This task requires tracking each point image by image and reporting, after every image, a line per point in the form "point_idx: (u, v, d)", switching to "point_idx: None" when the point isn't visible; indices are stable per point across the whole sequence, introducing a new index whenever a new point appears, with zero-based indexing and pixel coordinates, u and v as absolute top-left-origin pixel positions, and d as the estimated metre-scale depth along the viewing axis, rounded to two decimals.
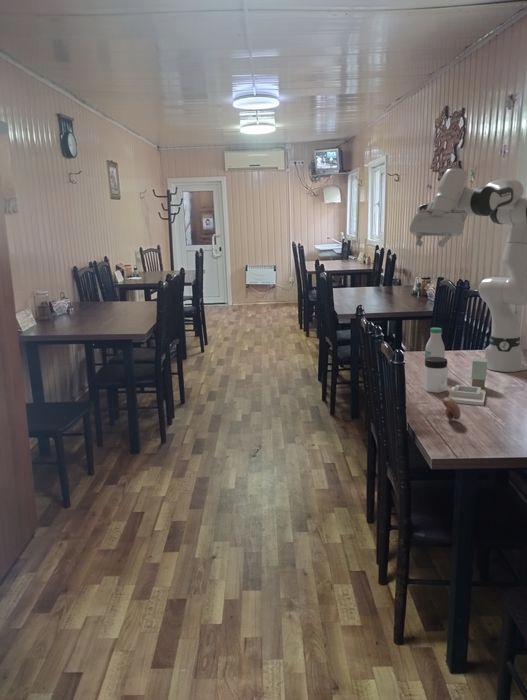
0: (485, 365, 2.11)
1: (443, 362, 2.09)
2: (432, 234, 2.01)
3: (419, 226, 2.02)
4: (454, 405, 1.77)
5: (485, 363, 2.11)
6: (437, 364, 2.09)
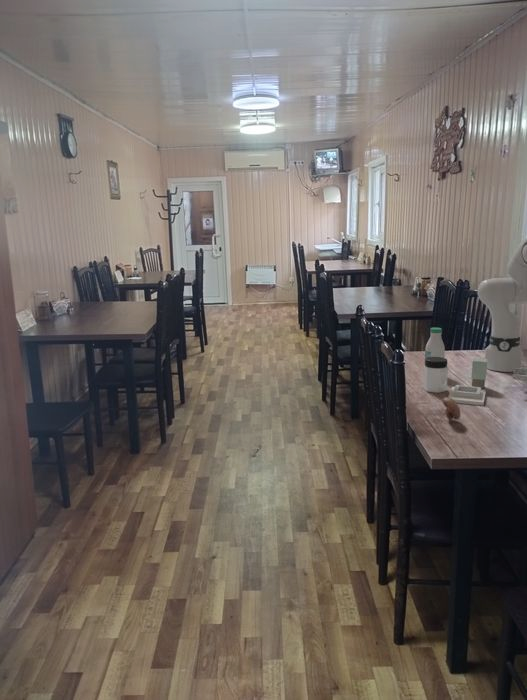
0: (485, 365, 2.11)
1: (443, 362, 2.09)
2: None
3: None
4: (454, 405, 1.77)
5: (485, 363, 2.11)
6: (437, 364, 2.09)
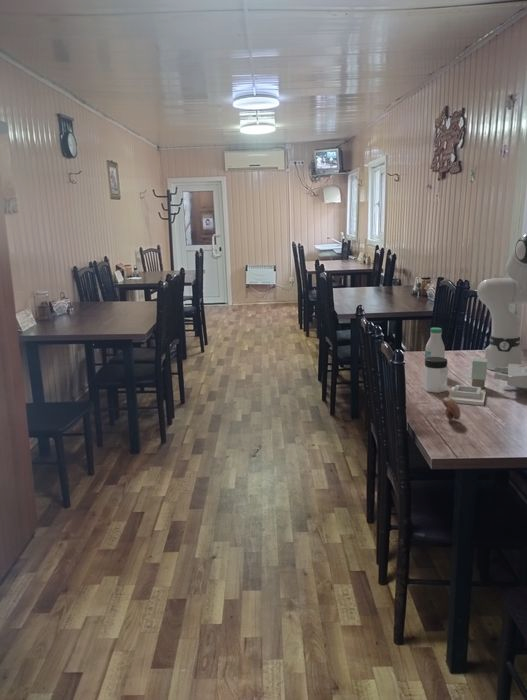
0: (485, 365, 2.11)
1: (443, 362, 2.09)
2: None
3: None
4: (454, 405, 1.77)
5: (485, 363, 2.11)
6: (437, 364, 2.09)
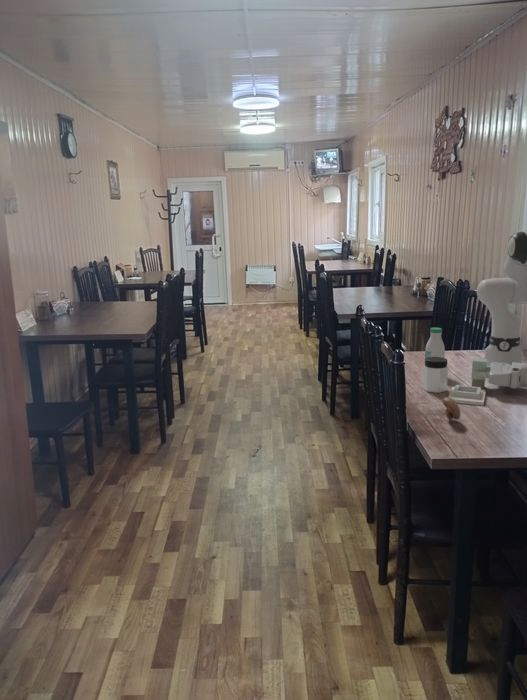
0: (485, 365, 2.11)
1: (443, 362, 2.09)
2: None
3: None
4: (454, 405, 1.77)
5: (485, 363, 2.11)
6: (437, 364, 2.09)
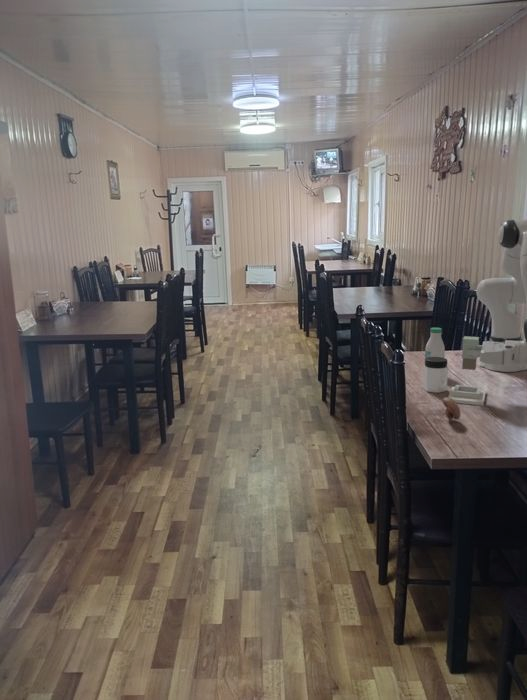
0: (476, 343, 1.98)
1: (443, 362, 2.09)
2: None
3: None
4: (454, 405, 1.77)
5: (476, 341, 1.98)
6: (437, 364, 2.09)
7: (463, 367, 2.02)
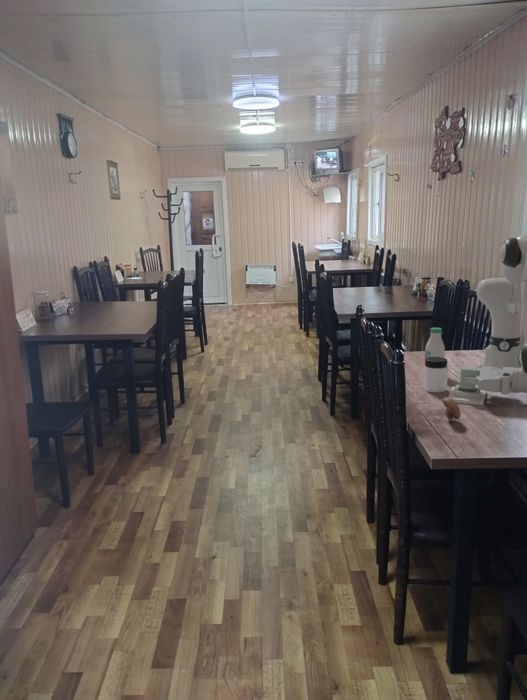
0: (474, 374, 2.00)
1: (443, 362, 2.09)
2: None
3: None
4: (454, 405, 1.77)
5: (474, 371, 2.00)
6: (437, 364, 2.09)
7: None
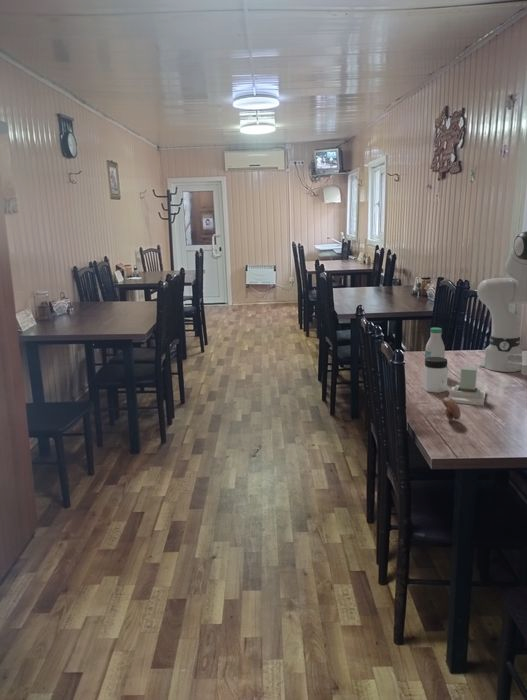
0: (474, 374, 2.00)
1: (443, 362, 2.09)
2: None
3: None
4: (454, 405, 1.77)
5: (474, 371, 2.00)
6: (437, 364, 2.09)
7: None
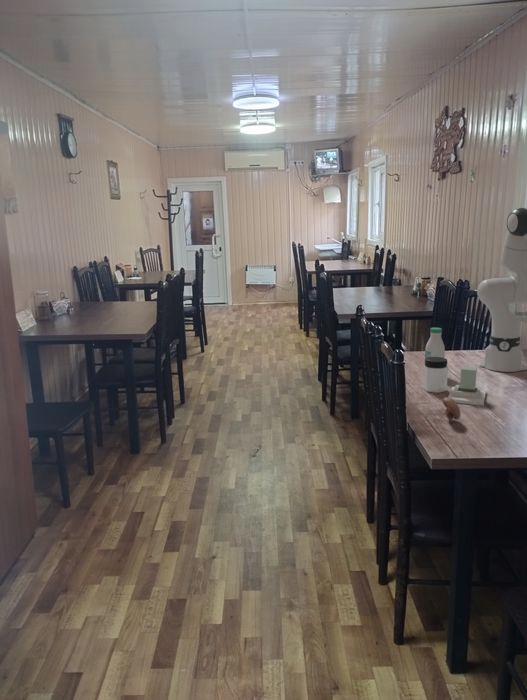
0: (474, 374, 2.00)
1: (443, 362, 2.09)
2: None
3: None
4: (454, 405, 1.77)
5: (474, 371, 2.00)
6: (437, 364, 2.09)
7: None
